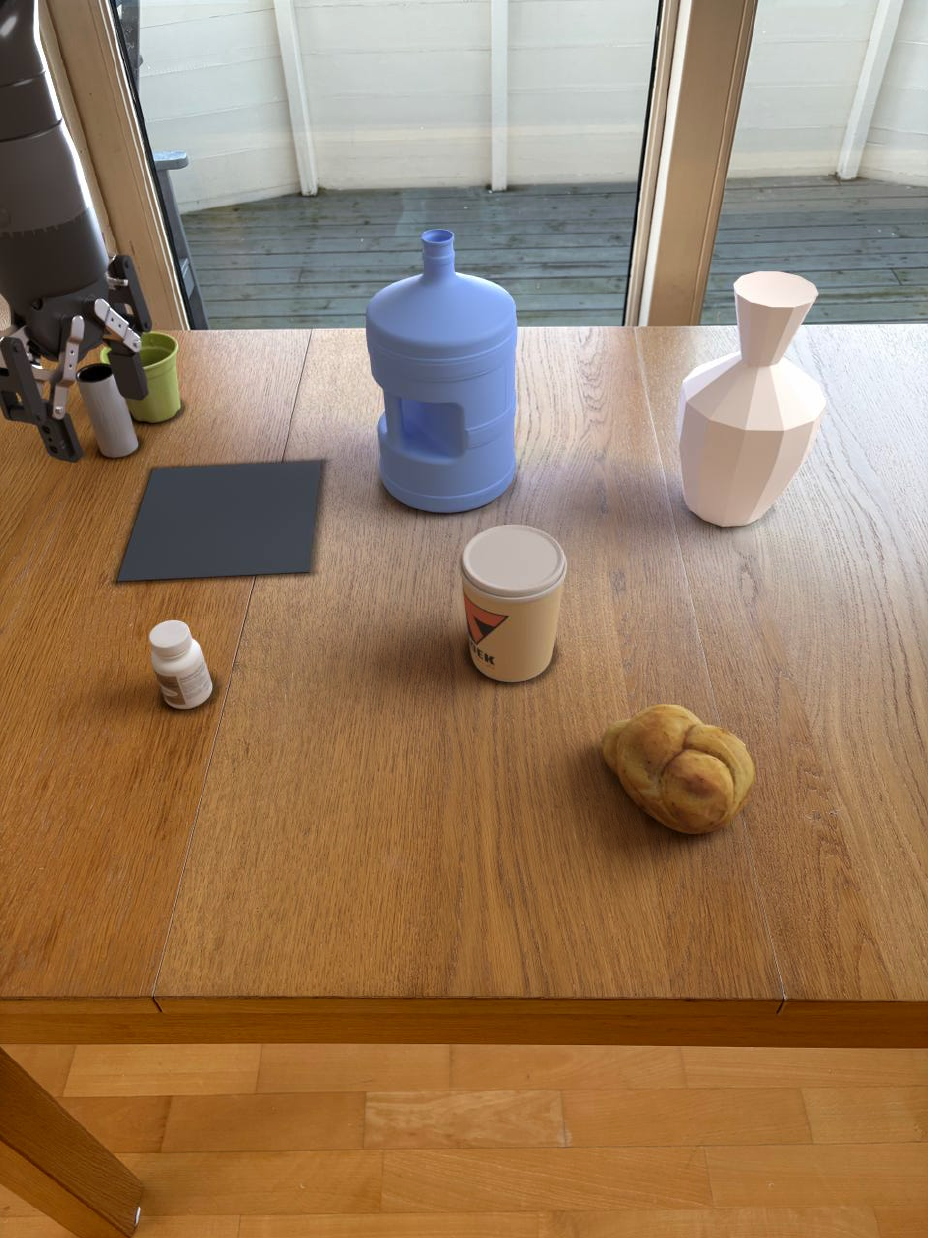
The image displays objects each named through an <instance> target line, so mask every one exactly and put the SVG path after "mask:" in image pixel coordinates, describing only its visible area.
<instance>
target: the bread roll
mask: <svg viewBox="0 0 928 1238" xmlns="http://www.w3.org/2000/svg"><path fill="white" fill-rule="evenodd" d="M601 746H602V747H601V751H602V752H601V753H602V755H603V759H604V761H605V763H606V765H607V766H608V768H609V769H610V770H611V771H612V773H614V774H615V775H616V776H617V777H618V779H619V782H620V784H621V786H622V788H623V790H624V791H625V793H626V794H627V795H628V797H629V798H630V799H631V800H633V802H635V804H636V805H637V806H638V807H639V808H640V810H642V811H643V812H644V813H646V814H647V815H648V816H649V817H651V818H653V819H654V820H655V821H657V822H658V823H660V824H662V825H663V826H665V827H667V828H668V829H671V830H673V831H677V832H679V833H682V834H685V835H690V834H691V835H700V834H701V835H702V834H707V833H711V832H715V831H717V830H720V829H723V828H727V827H728V826H729V825H730V824H731V823H732V821H733V820H734V818H735V817H736V816H737V815H738V814H739V813H740V812H741V811H742V810H743V809H744V808H746V804H747V802H748V800H749V797H750V795H751V794H752V791H753V787H754V784H755V781H756V777H755V776H756V775H755V773H756V771H755V768H754V767H755V766H754V763H753V760H752V756H751V754H750V753H749V751H748V750H747V749H746V746H747V744H745V743H744V742H743V740H741V739H739V737H737V736H736V735H735V734H733V733H731V732H730V731H729V730H728V729H726V728H722V727H719V726H715V725H713V724H705V723H703V721H702V720H701V719H699V718H698V717H697V716H696V715H695V714H694V713H693V712H691V710H688V709H687V708H685V707H683V706H682V705H679V704H665V703H664V704H663V703H660V704H656V705H653V706H649V707H646V708H643V709H642V710H640V711H638V712H637V713H636V714H634V715H633V716H632V717H631V718H628V719H627V718H625V719H620V720H617V721H614V722H613V723H611V724H610V725H609V726H608V727H607V728H606V730H605V732H604V734H603V737H602V741H601Z"/></svg>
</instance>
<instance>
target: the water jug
mask: <svg viewBox="0 0 928 1238" xmlns="http://www.w3.org/2000/svg"><path fill="white" fill-rule="evenodd" d="M420 240H421V242H422V245H423V250H422V252H421V258H422V261H423V263H422V264H423V272H422V273H420V274H417V275H414V276H411V277H407V278H404V279H401V280H398V281H396V282H393V283H391V284H389V285H387V286H385V287H383V288H382V289H381V290H379V291H378V292H376V293H375V295H374V296H373V297H371V299H370V301H369V302H368V303H367V306H366V310H365V338H366V347H367V352H368V355H369V362H370V372H371V376H372V378H373V380H374V381H375V383H376V384H377V385H378V386H379V387H380V389H382V394H383V395H382V396H383V404H384V411H383V412H382V413H381V415H380V416H379V419H378V421H377V426H376V427H377V428H376V432H377V441H378V450H379V457H378V458H379V459H378V463H379V474H380V478H381V479H380V480H381V481H382V484H383V486H384V488H385V489H386V490H387V492H388V493H389V494H390V495H391V496H392V497H393V498H395V499H396V500H397V501H399V502H400V503H402V504H404V505H406V506H408V507H411V508H414V509H416V510H420V511H424V512H430V513H441V514H442V513H444V514H447V513H448V514H449V513H459V512H465V511H470V510H473V509H478V508H480V507H482V506H485V505H488V504H490V503H491V502H493V501H495V500H496V499H498V498H499V497H500V496H501V495H502V494H504V493H505V492H506V490H507V489H508V488H509V487H510V485H511V484H512V482H513V479H514V477H515V474H516V473H515V472H516V453H515V421H516V412H517V391H516V390H517V389H516V355H517V354H516V353H517V352H516V351H517V345H518V320H517V305H516V302H515V300H514V298H513V297H512V296H511V294H510V293H509V292H508V291H507V290H506V289H504V287H502V286H501V285H499V284H497V283H495V282H493V281H490V280H489V279H485V278H483V277H480V276H479V277H478V276H474V275H469V274H465V273H461V272H456V270H455V269H456V268H455V258H456V252H455V249H454V241H455V233H453V231H450V230H447V229H441V228H437V229H429V230H427V231H425V232H423V233H421V236H420Z"/></svg>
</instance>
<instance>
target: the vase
mask: <svg viewBox="0 0 928 1238" xmlns="http://www.w3.org/2000/svg"><path fill="white" fill-rule="evenodd" d="M733 294H734V304H735V313H736V325H737V335H738V336H737V337H738V345H739V350H737V351H735V352H732V353H730V354H727V355H725V356H721V357H718V358H717V359H713V360H711V361H709V362H706V363H703V364H700V365H698V366H696V367H695V368H694V369H693V370H692V371H691V372H690V374H689V375H687V377H686V378H685V379H684V380H683V381H682V382H681V388H680V395H679V400H678V407H677V414H676V415H677V416H676V425H675V433H676V440H677V447H678V449H677V450H678V457H679V464H680V481H681V487H682V494H683V501H684V504H685V505H686V506H687V508H688V509H689V510H690V511H691V512H692V513H693V514H695V515H696V516H697V517H699V518H700V519H702V520H703V521H704V522H708V523H710V524H713V525H715V526H719V527H722V528H727V527H729V528H731V527H744V526H748V525H749V524H752V523H753V522H755V521H758V520H759V519H761V518H763V516H764V515H765V514H766V513H767V512H768V510H769V509H770V508H771V507H772V506H773V504H775V502H777V500H778V499H779V498H780V497H781V496H782V495H783V494H784V493H785V491H786V490H787V488H788V487H789V486H790V485H791V483H793V481H794V480H795V478H796V476H797V474H798V473H799V471H800V470H801V468H802V466H803V465H804V464H805V462H806V460H807V458H808V457H809V455H810V454H811V453H812V451H813V450H814V446H815V443H816V440H817V438H818V435H819V431H820V428H821V425H822V421H823V417H824V414H825V411H826V408H827V407H826V406H827V404H828V403H827V400H826V397H825V396H824V392H823V391H822V388H821V385H820V383H819V382H818V381H816V380H814V379H813V378H812V377H811V376H810V375H809V374H807V373H806V372H805V371H803V370H802V369H800V368H799V367H798V366H797V365H795V364H794V363H793V362H792V361H790V360H789V359H788V358H786V357H785V354H786V353H787V351H788V349H789V348H790V346H791V344H792V342H793V340H794V338H795V337H796V335H797V333H798V332H799V329H800V328H801V326H802V324H803V323H804V321H805V319H806V317H807V316H808V314H809V312H810V310H811V308H812V306H813V304H814V303H815V301H816V299H817V297H818V296H819V291H818V288H817V287H816V285H815V283H813V282H811V281H810V280H808V279H806V278H805V277H803V276H801V275H798V274H792V273H788V272H783V271H780V270H779V271H778V270H775V271H774V270H773V271H772V270H771V271H770V270H769V271H767V270H766V271H765V270H757V271H754V272H750V273H746V274H743V275H741V276H740V277H739V278H737V280H736V281H735V282H734V283H733Z"/></svg>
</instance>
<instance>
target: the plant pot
mask: <svg viewBox="0 0 928 1238" xmlns="http://www.w3.org/2000/svg"><path fill="white" fill-rule="evenodd" d="M140 339H141V343H142V344H141V349H140V351H139V354H140V358H141V361H142V365H143V368H144V371H145V372H144V373H145V375H146V378H147V388H148V392H149V394H148V395H147V396H146V397H145V398H144V399H143V400H141V401H139V400H133V399H127V398H125V401H126V405H127V408H128V410H129V412H130V413H131V414H132V417H133V418H134V419H135V421H138V422H148V423H150V424H155V423H161V422H164V421H167V420H169V419H172V418H173V417H175V416H176V414H177V412H178V411H180V410H181V405H182V404H181V399H180V398H181V397H180V389H179V382H178V381H179V380H178V372H177V366H176V365H177V364H176V363H177V353H178V351H179V343H178V341H177V340H176V338H175V337H173V336H172V335H170V334H167V333H164V332H158V331H150V332H149V333H144V332H143V334H142V336H141V338H140ZM110 350H111V348H107V347H105V346H104V347H103V348H102V349H101V351H100V352H99V355H98V356H99V360H100V363H107V364H110V363H109V360H108V356H107V353H108V352H109V351H110Z"/></svg>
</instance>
